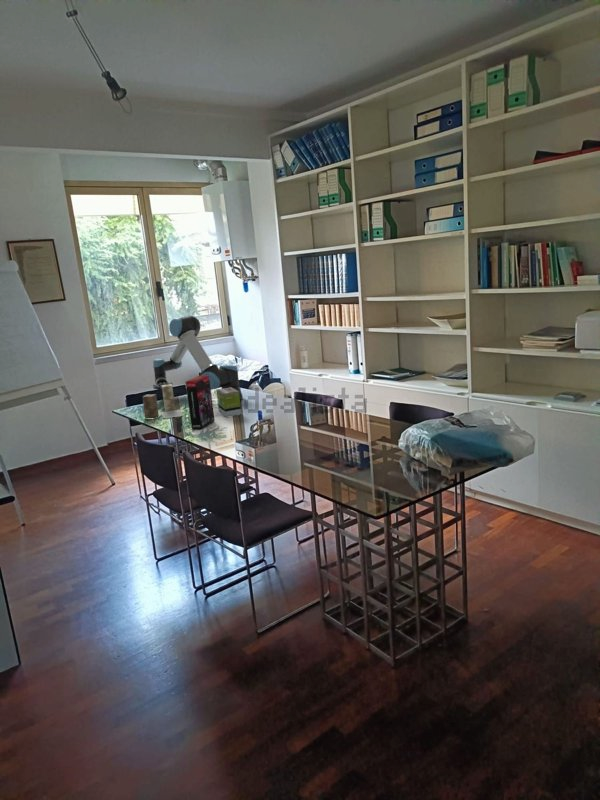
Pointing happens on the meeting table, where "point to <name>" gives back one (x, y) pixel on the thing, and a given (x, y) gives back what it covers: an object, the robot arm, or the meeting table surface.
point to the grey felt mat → (172, 414)
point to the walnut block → (150, 406)
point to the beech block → (168, 397)
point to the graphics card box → (200, 402)
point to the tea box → (228, 401)
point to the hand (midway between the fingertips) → (164, 389)
